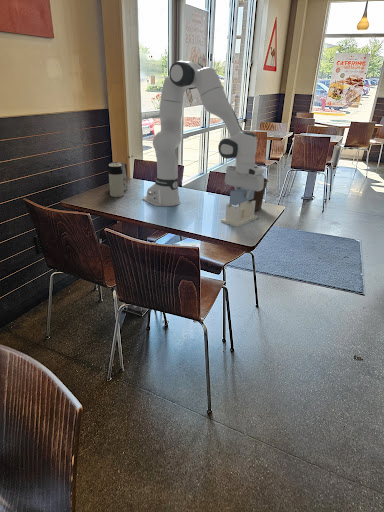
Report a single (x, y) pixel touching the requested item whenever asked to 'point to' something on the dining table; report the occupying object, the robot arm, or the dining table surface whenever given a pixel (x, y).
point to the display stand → (240, 214)
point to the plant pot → (258, 196)
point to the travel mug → (116, 180)
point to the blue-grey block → (240, 196)
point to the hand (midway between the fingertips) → (242, 196)
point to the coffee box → (124, 174)
